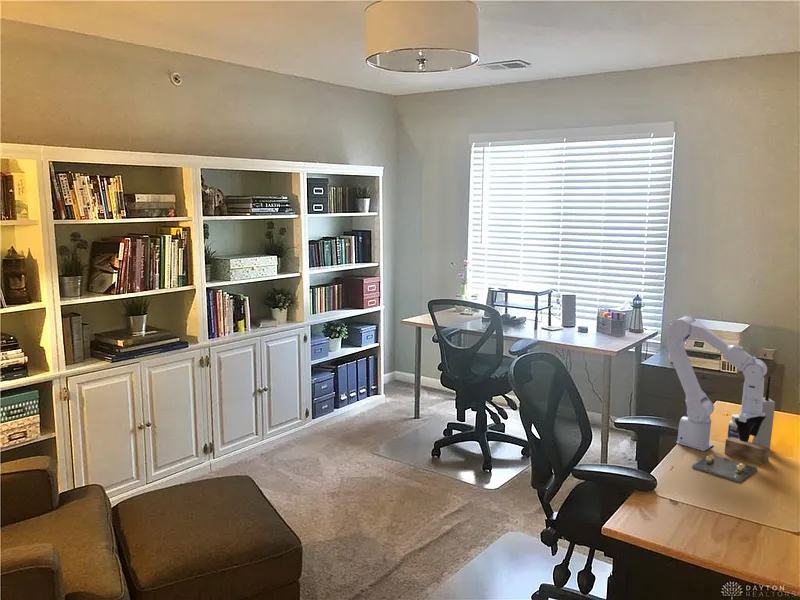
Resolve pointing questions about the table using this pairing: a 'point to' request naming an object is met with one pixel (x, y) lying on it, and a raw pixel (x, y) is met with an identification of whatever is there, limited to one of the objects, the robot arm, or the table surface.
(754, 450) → the walnut bar
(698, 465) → the plate
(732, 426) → the pill bottle
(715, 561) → the table surface
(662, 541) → the table surface
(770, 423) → the vintage mobile phone
